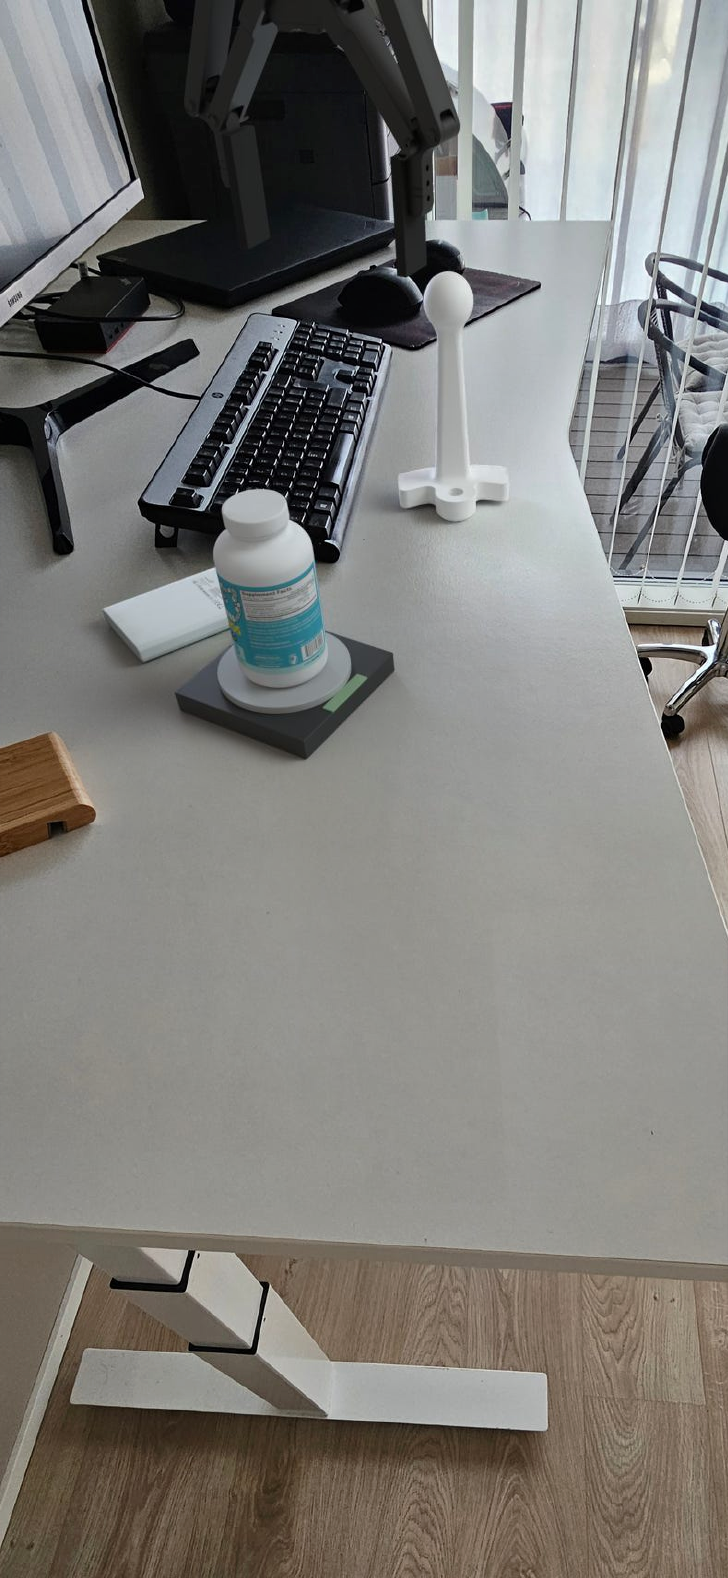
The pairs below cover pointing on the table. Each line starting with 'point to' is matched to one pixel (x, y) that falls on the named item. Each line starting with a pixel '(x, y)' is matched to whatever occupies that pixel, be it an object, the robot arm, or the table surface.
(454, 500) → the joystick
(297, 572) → the pill bottle
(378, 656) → the scale
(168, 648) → the hard drive
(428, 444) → the table surface
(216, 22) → the robot arm
